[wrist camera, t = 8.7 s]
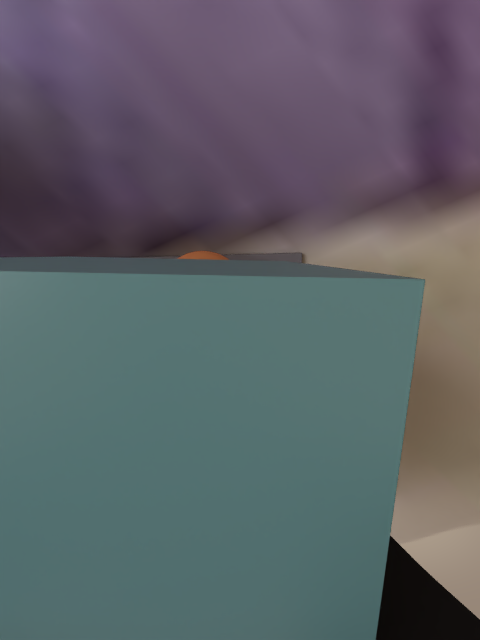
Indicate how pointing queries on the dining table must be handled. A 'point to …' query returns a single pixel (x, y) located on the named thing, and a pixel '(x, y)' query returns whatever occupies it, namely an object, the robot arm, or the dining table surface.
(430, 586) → the robot arm
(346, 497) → the teal rectangular box
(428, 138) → the dining table surface
